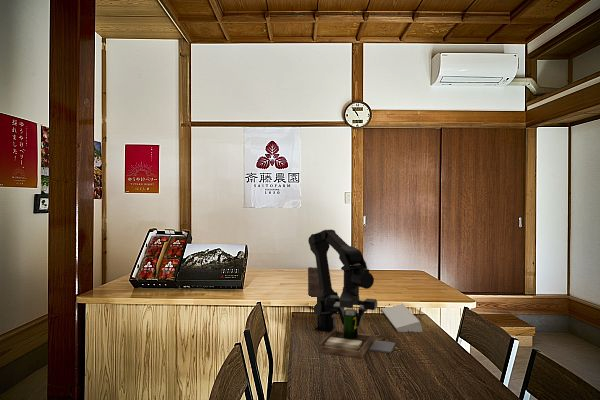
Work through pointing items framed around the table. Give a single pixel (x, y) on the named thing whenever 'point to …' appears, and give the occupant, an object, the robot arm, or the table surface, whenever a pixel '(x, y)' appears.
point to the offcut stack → (343, 343)
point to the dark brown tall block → (313, 282)
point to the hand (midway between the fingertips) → (350, 325)
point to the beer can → (351, 324)
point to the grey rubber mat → (382, 346)
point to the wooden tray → (345, 352)
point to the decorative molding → (402, 319)
